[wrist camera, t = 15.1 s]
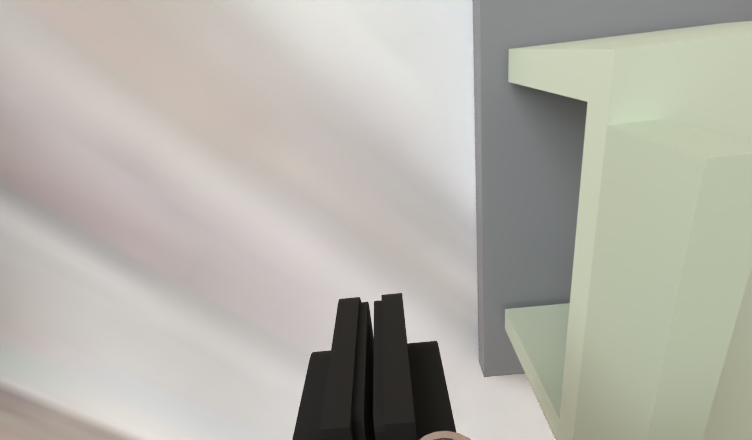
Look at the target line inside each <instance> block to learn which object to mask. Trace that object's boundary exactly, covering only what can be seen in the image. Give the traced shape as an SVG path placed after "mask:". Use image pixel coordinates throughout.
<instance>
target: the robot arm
mask: <svg viewBox="0 0 752 440" xmlns="http://www.w3.org/2000/svg"><path fill="white" fill-rule="evenodd" d="M293 440H471V439H469V438H467V437H465V436H463V435H461V434H459V433H456V429H455V424H454V419H453V415H452V410H451V405H450V400H449V395H448V390H447V386H446V381H445V376H444V371H443V366H442V362H441V357H440V352H439V347H438V343H437V341H431V342H420V343H409V344H407V337H406V328H405V318H404V309H403V299H402V293H398V294H387V295H382V301H374V337H373V330H372V323H371V316H370V310H369V304H368V302H362V303H361V300H360V297H356V298H346V299H339V302H338V308H337V315H336V322H335V328H334V335H333V342H332V349H331V351H321V352H313V353H312V354H311V357H310V361H309V365H308V370H307V375H306V379H305V384H304V389H303V393H302V398H301V403H300V407H299V412H298V417H297V421H296V426H295V431H294V435H293Z"/></svg>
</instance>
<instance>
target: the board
mask: <svg viewBox="0 0 752 440" xmlns="http://www.w3.org/2000/svg"><path fill="white" fill-rule="evenodd" d="M744 21H752V0H473V38H474V96H475V155H476V213H477V271H478V330H479V363H480V366H481V369H482V372H483V375H484V377H489V376H501V375H512V374H524V373H525V372H524V369H523V367H522V365H521V363H520V361H519V359H518V356H517V354H516V352H515V350H514V348H513V345H512V343H511V341H510V339H509V337H508V335H507V332H506V330H505V309H511V308H522V307H533V306H544V305H554V304H565V303H570V295H571V284H572V272H573V261H574V250H575V238H576V227H577V216H578V204H579V193H580V182H581V170H582V159H583V148H584V136H585V125H586V114H587V102H586V101H582V100H578V99H574V98H570V97H566V96H562V95H558V94H554V93H551V92H547V91H543V90H539V89H535V88H531V87H527V86H523V85H519V84H515V83H511V82H508V62H509V49H513V48H521V47H530V46H538V45H546V44H554V43H563V42H571V41H579V40H588V39H596V38H604V37H612V36H621V35H629V34H637V33H645V32H654V31H662V30H670V29H679V28H687V27H695V26H703V25H712V24H720V23H731V22H744Z"/></svg>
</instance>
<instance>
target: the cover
mask: <svg viewBox="0 0 752 440" xmlns="http://www.w3.org/2000/svg"><path fill="white" fill-rule="evenodd" d="M508 82H511V83H515V84H519V85H523V86H527V87H531V88H535V89H539V90H543V91H547V92H551V93H554V94H558V95H562V96H566V97H570V98H574V99H578V100H582V101H586V102H587V114H586V125H585V136H584V148H583V159H582V170H581V182H580V193H579V204H578V216H577V227H576V238H575V250H574V261H573V272H572V284H571V295H570V303H565V304H554V305H544V306H533V307H522V308H511V309H505V330H506V332H507V335H508V337H509V339H510V341H511V343H512V345H513V348H514V350H515V352H516V354H517V356H518V359H519V361H520V363H521V365H522V367H523V369H524V372H525V374H526V376H527V378H528V380H529V383H530V385H531V387H532V389H533V391H534V393H535V396H536V398H537V400H538V402H539V404H540V406H541V409H542V411H543V413H544V415H545V417H546V420H547V422H548V424H549V426H550V428H551V430H552V433H553V435H554V437H555V439H556V440H752V21H744V22H731V23H720V24H712V25H703V26H695V27H687V28H679V29H670V30H662V31H654V32H645V33H637V34H629V35H621V36H612V37H604V38H596V39H588V40H579V41H571V42H563V43H554V44H546V45H538V46H530V47H521V48H513V49H509V62H508Z"/></svg>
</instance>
